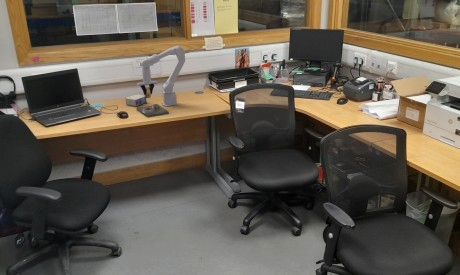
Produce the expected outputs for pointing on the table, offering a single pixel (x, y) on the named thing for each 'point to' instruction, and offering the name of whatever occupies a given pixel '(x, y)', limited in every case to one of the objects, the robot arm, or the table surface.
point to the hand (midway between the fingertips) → (148, 94)
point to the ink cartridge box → (135, 100)
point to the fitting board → (156, 111)
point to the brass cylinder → (148, 92)
